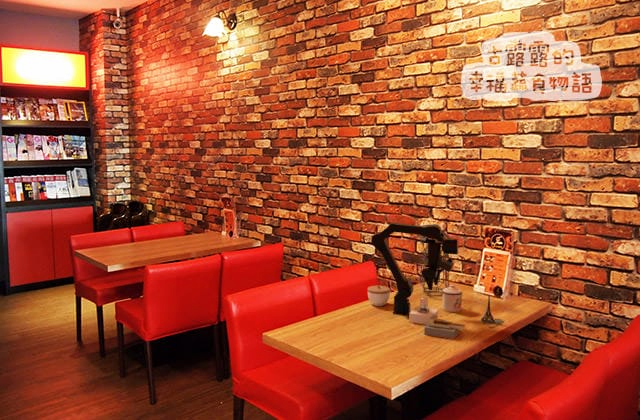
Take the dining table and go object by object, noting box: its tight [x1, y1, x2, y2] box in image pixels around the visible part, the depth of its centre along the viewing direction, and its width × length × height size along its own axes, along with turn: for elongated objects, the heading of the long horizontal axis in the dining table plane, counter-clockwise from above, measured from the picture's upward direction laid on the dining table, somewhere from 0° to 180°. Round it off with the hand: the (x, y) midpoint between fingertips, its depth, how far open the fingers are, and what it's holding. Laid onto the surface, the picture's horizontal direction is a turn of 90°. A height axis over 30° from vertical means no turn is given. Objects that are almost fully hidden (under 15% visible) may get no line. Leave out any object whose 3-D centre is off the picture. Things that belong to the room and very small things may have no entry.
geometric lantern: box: [416, 230, 453, 297], centre depth 275 cm, size 16×16×35 cm
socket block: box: [424, 323, 460, 340], centre depth 221 cm, size 12×10×3 cm
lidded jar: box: [367, 284, 391, 307], centre depth 260 cm, size 11×11×9 cm
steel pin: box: [419, 296, 429, 313], centre depth 236 cm, size 3×3×10 cm
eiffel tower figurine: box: [480, 294, 505, 330], centre depth 233 cm, size 15×10×13 cm
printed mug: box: [441, 284, 463, 313], centre depth 252 cm, size 12×9×12 cm
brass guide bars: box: [429, 315, 466, 331], centre depth 220 cm, size 14×6×3 cm, turn 64°
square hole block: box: [408, 306, 439, 326], centre depth 236 cm, size 10×10×4 cm
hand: (433, 287), depth 241 cm, fingers open, 9 cm apart
